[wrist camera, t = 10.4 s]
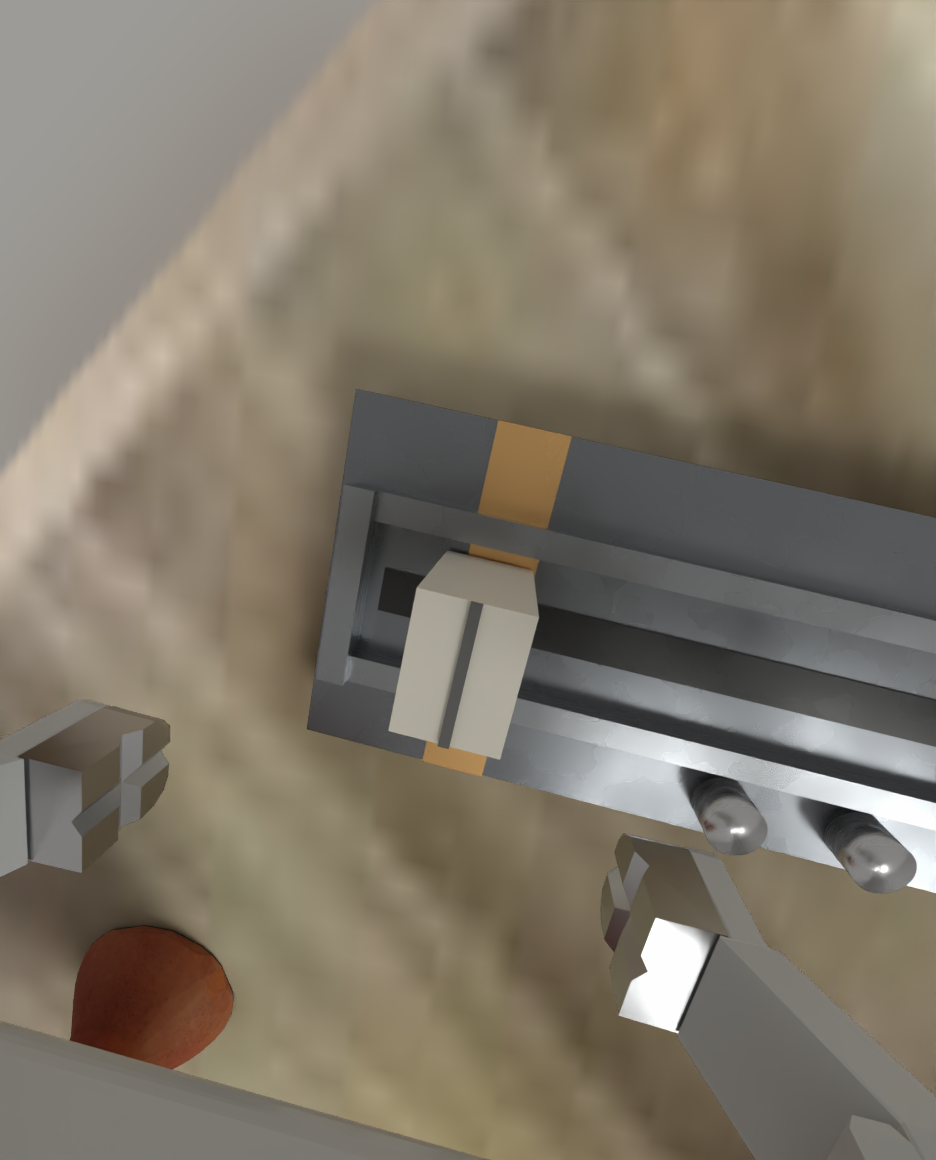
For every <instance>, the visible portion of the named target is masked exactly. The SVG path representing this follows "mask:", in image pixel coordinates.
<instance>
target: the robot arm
mask: <svg viewBox="0 0 936 1160" xmlns="http://www.w3.org/2000/svg"><path fill="white" fill-rule="evenodd" d="M169 742H170V725H169V724H168V723H167V722H166V721H164V720H162V719H159V718H155V717H151V716H148V715H144V714H140V713H137V712H133V711H129V710H125V709H122V708H118V707H114V706H109V705H106V704H102V703H98V702H94V701H90V700H78V701H75V702H73V703H71V704H69V705H67V706H65V707H63V708H61V709H59V710H57V711H55V712H53V713H51V714H50V715H48V716H46V717H44V718H42V719H40V720H38V721H36V722H34V723H32V724H30V725H28V726H26V727H24V728H22V729H21V730H19V731H17V732H15V733H13V734H11V735H9V736H7V737H5V738H3V739H1V740H0V877H1V876H4V875H6V874H8V873H10V872H12V871H14V870H16V869H18V868H20V867H22V866H25V865H27V864H28V861H32V862H36V863H40V864H45V865H49V866H54V867H58V868H62V869H67V870H71V871H75V872H80V873H82V872H83V871H84V870H86V869H87V868H88V867H89V866H90V865H91V864H92V863H93V862H94V861H95V860H96V859H97V858H99V857H100V856H101V855H102V854H103V853H104V852H105V851H106V850H107V849H108V848H109V847H111V846H112V845H113V844H114V843H115V842H116V841H117V840H118V837H119V831H120V827H122V826H124V825H127V824H129V823H132V822H134V821H137V820H139V819H141V818H142V817H143V816H144V815H145V814H146V813H147V812H148V811H149V810H150V809H151V808H152V807H153V806H154V804H155V803H156V801H157V800H158V798H159V796H160V795H161V793H162V792H163V790H164V787H165V784H166V781H167V778H168V770H169V763H168V761H167V760H166V758H165V756H164V754H163V753H162V751H161V750H162V749H163V748H164V747H165V746H166V745H167V744H168V743H169ZM615 856H616V860H617V864H618V867H616V868H615V869H613V870H612V871H610V872H609V873H607V876H606V879H605V883H604V886H603V889H602V898H601V908H600V909H601V925H602V930H603V936H604V939H605V941H606V942H607V943H608V945H609V946H610V947H611V949H612V950H613V952H614V956H613V958H612V961H611V964H610V967H609V969H610V974H611V979H612V984H613V989H614V994H615V999H616V1005H617V1010H618V1015H619V1016H622V1017H626V1018H629V1019H632V1020H636V1021H639V1022H642V1023H646V1024H649V1025H652V1026H656V1027H659V1028H662V1029H666V1030H669V1031H672V1032H676V1033H678V1035H677V1038H678V1039H679V1041H680V1042H681V1044H682V1045H683V1047H684V1049H685V1050H686V1052H687V1053H688V1055H689V1056H690V1058H691V1059H692V1061H693V1063H694V1064H695V1066H696V1067H697V1069H698V1070H699V1072H700V1074H701V1075H702V1077H703V1078H704V1080H705V1081H706V1083H707V1085H708V1086H709V1088H710V1089H711V1091H712V1092H713V1094H714V1096H715V1097H716V1099H717V1100H718V1102H719V1103H720V1105H721V1106H722V1108H723V1110H724V1111H725V1113H726V1114H727V1116H728V1117H729V1119H730V1121H731V1122H732V1124H733V1125H734V1127H735V1128H736V1130H737V1132H738V1133H739V1135H740V1136H741V1138H742V1139H743V1141H744V1143H745V1144H746V1146H747V1147H748V1149H749V1150H750V1152H751V1153H752V1155H753V1157H754V1158H755V1160H936V1097H935V1096H934V1095H933V1094H932V1093H931V1092H930V1091H929V1090H927V1089H926V1088H925V1087H924V1086H923V1085H922V1084H921V1083H920V1082H919V1081H918V1080H917V1079H916V1078H915V1077H914V1076H912V1075H911V1074H910V1073H909V1072H908V1071H907V1070H906V1069H905V1068H904V1067H903V1066H902V1065H901V1064H900V1063H898V1062H897V1061H896V1060H895V1059H894V1058H893V1057H892V1056H891V1055H890V1054H889V1053H888V1052H887V1051H886V1050H885V1049H883V1048H882V1047H881V1046H880V1045H879V1044H878V1043H877V1042H876V1041H875V1040H874V1039H873V1038H872V1037H871V1036H869V1035H868V1034H867V1033H866V1032H865V1031H864V1030H863V1029H862V1028H861V1027H860V1026H859V1025H858V1024H857V1023H856V1022H854V1021H853V1020H852V1019H851V1018H850V1017H849V1016H848V1015H847V1014H846V1013H845V1012H844V1011H843V1010H842V1009H840V1008H839V1007H838V1006H837V1005H836V1004H835V1003H834V1002H833V1001H832V1000H831V999H830V998H829V997H828V996H827V995H825V994H824V993H823V992H822V991H821V990H820V989H819V988H818V987H817V986H816V985H815V984H814V983H813V982H812V981H810V980H809V979H808V978H807V977H806V976H805V975H804V974H803V973H802V972H801V971H800V970H799V969H798V968H796V967H795V966H794V965H793V964H792V963H791V962H790V961H789V960H788V959H787V958H786V957H785V956H784V955H783V954H781V953H780V952H779V951H777V950H774V949H770V948H768V947H767V945H766V943H765V941H764V940H763V938H762V936H761V934H760V932H759V930H758V928H757V926H756V925H755V923H754V921H753V919H752V917H751V915H750V913H749V911H748V910H747V908H746V906H745V904H744V902H743V900H742V898H741V896H740V895H739V893H738V891H737V889H736V887H735V885H734V883H733V881H732V880H731V878H730V876H729V874H728V872H727V870H726V868H725V866H724V864H723V863H722V861H721V859H720V858H719V857H718V856H717V855H715V854H714V853H711V852H706V851H701V850H697V849H692V848H688V847H679V846H675V845H670V844H666V843H662V842H658V841H654V840H650V839H645V838H641V837H637V836H633V835H629V834H625V833H624V834H623V835H622V836H621V838H620V839H619V841H618V844H617V846H616V849H615ZM0 1160H489V1159H485V1158H482V1157H478V1156H474V1155H471V1154H467V1153H464V1152H460V1151H457V1150H453V1149H450V1148H446V1147H443V1146H439V1145H436V1144H432V1143H429V1142H425V1141H422V1140H418V1139H415V1138H411V1137H408V1136H404V1135H400V1134H397V1133H393V1132H390V1131H386V1130H383V1129H379V1128H376V1127H372V1126H369V1125H365V1124H362V1123H358V1122H355V1121H351V1120H348V1119H344V1118H341V1117H337V1116H334V1115H330V1114H326V1113H323V1112H319V1111H316V1110H312V1109H309V1108H305V1107H302V1106H298V1105H295V1104H291V1103H288V1102H284V1101H281V1100H277V1099H274V1098H270V1097H267V1096H263V1095H260V1094H256V1093H253V1092H249V1091H246V1090H242V1089H238V1088H235V1087H231V1086H228V1085H224V1084H221V1083H217V1082H214V1081H210V1080H207V1079H203V1078H200V1077H196V1076H193V1075H189V1074H186V1073H182V1072H179V1071H175V1070H172V1069H168V1068H165V1067H161V1066H158V1065H154V1064H151V1063H147V1062H144V1061H140V1060H137V1059H133V1058H130V1057H126V1056H122V1055H119V1054H115V1053H112V1052H108V1051H105V1050H101V1049H98V1048H94V1047H91V1046H87V1045H84V1044H80V1043H77V1042H73V1041H70V1040H66V1039H63V1038H59V1037H56V1036H52V1035H49V1034H45V1033H42V1032H38V1031H35V1030H31V1029H28V1028H24V1027H21V1026H17V1025H14V1024H10V1023H7V1022H3V1021H0Z"/></svg>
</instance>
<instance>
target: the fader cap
mask: <svg viewBox="0 0 936 1160" xmlns="http://www.w3.org/2000/svg"><path fill="white" fill-rule="evenodd" d="M538 619H539V613H538V605H537V597H536V590H535V582H534V574H533V571H532V570H528V569H524V568H520V567H516V566H511V565H507V564H503V563H499V562H495V561H490V560H486V559H482V558H478V557H473V556H469V555H465V554H461V553H457V552H452V551H448V550H447V552H446V553H445V554H444V555H443V556H442V558H441V559H440V560H439V561H438V562H437V564H436V565H435V566H434V567H433V568H432V570H431V571H430V572H429V573H428V575H427V576H426V577H425V578H424V579H423V581H422V582H421V583H420V584H419V585H418V587H417V588H416V594H415V599H414V604H413V609H412V614H411V619H410V624H409V629H408V634H407V639H406V644H405V649H404V654H403V659H402V664H401V669H400V675H399V680H398V685H397V690H396V695H395V700H394V705H393V710H392V715H391V720H390V725H389V730H388V731H391V732H394V733H398V734H402V735H406V736H410V737H414V738H418V739H422V740H425V741H429V742H433V743H437V744H438V746H437V747H441V748H445V749H449V747H452V748H456V749H460V750H464V751H468V752H472V753H476V754H480V755H483V756H487V757H491V758H495V759H499V760H500V758H501V754H502V751H503V747H504V743H505V740H506V736H507V732H508V729H509V725H510V721H511V718H512V714H513V710H514V707H515V703H516V700H517V696H518V692H519V689H520V685H521V681H522V678H523V674H524V670H525V667H526V663H527V659H528V656H529V652H530V648H531V645H532V641H533V638H534V634H535V630H536V627H537V623H538Z"/></svg>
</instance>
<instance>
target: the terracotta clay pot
mask: <svg viewBox="0 0 936 1160" xmlns="http://www.w3.org/2000/svg"><path fill="white" fill-rule="evenodd" d="M233 1002H234V996H233V993H232V991H231V988H230V986H229V983H228V981H227V978H226V976H225V973H224V971H223V969H222V966H221V965H220V964H219V963H218V962H217V961H216V960H215V958H214V957H213V956H212V955H211V954H209V953H208V952H207V951H206V950H205V949H204V948H203V947H201V946H200V945H198V944H196V943H194V942H192V941H190V940H188V939H187V938H185V937H183V936H181V935H179V934H177V933H175V932H173V931H169V930H164V929H159V928H153V927H148V926H139V927H132V928H126V929H117V930H111V931H110V932H108V933H106V934H104V935H103V936H101V937H100V938H99V939H98V940H96V941H95V942H94V943H93V944H92V945H91V947H90V948H89V949H88V951H87V952H86V954H85V956H84V959H83V961H82V964H81V966H80V969H79V972H78V975H77V980H76V984H75V992H74V1000H73V1014H72V1029H71V1038H70V1041H73V1042H77V1043H80V1044H84V1045H87V1046H91V1047H94V1048H98V1049H101V1050H105V1051H108V1052H112V1053H115V1054H119V1055H122V1056H126V1057H130V1058H133V1059H137V1060H140V1061H144V1062H147V1063H151V1064H154V1065H158V1066H161V1067H165V1068H168V1069H174V1068H176V1067H178V1066H180V1065H181V1064H183V1063H185V1062H186V1061H188V1060H190V1059H191V1058H193V1057H194V1056H195V1055H197V1054H198V1053H199V1052H201V1051H202V1050H203V1049H204V1048H205V1047H207V1046H208V1045H209V1044H210V1043H211V1042H212V1041H214V1040H215V1038H216V1037H217V1036H218V1035H219V1034H220V1033H221V1032H222V1031H223V1029H224V1028H225V1026H226V1024H227V1022H228V1020H229V1018H230V1016H231V1014H232V1009H233Z"/></svg>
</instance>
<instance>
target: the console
mask: <svg viewBox="0 0 936 1160" xmlns="http://www.w3.org/2000/svg"><path fill="white" fill-rule="evenodd" d="M447 550H448V551H452V552H457V553H461V554H465V555H469V556H473V557H478V558H482V559H486V560H490V561H495V562H499V563H503V564H507V565H511V566H516V567H520V568H524V569H528V570H532V571H533V574H534V582H535V590H536V597H537V605H538V613H539V619H538V623H537V627H536V630H535V634H534V638H533V641H532V645H531V648H530V652H529V656H528V659H527V663H526V667H525V670H524V674H523V678H522V681H521V685H520V689H519V692H518V696H517V700H516V703H515V707H514V710H513V714H512V718H511V721H510V725H509V729H508V732H507V736H506V740H505V743H504V747H503V751H502V754H501V758H500V760H499V759H495V758H491V757H487V756H483V755H480V754H476V753H472V752H468V751H464V750H460V749H456V748H452V747H449V749H445V748H441V747H437V746H438V744H437V743H433V742H429V741H425V740H422V739H418V738H414V737H410V736H406V735H402V734H398V733H394V732H391V731H388V730H389V725H390V720H391V715H392V710H393V705H394V700H395V695H396V690H397V685H398V680H399V675H400V669H401V664H402V659H403V654H404V649H405V644H406V639H407V634H408V629H409V624H410V619H411V614H412V609H413V604H414V599H415V594H416V588H417V587H418V585H419V584H420V583H421V582H422V581H423V579H424V578H425V577H426V576H427V575H428V573H429V572H430V571H431V570H432V568H433V567H434V566H435V565H436V564H437V562H438V561H439V560H440V559H441V558H442V556H443V555H444V554H445V553H446V552H447ZM307 729H308V730H312V731H316V732H319V733H323V734H327V735H331V736H335V737H339V738H342V739H346V740H350V741H354V742H358V743H362V744H365V745H369V746H373V747H377V748H381V749H385V750H388V751H392V752H396V753H400V754H404V755H408V756H411V757H415V758H419V759H423V760H422V761H423V762H427V763H431V764H434V765H438V766H442V767H446V768H450V769H454V770H457V771H461V772H465V773H469V774H473V775H477V776H480V777H482V775H484V776H488V777H492V778H496V779H500V780H504V781H507V782H511V783H515V784H519V785H523V786H527V787H530V788H534V789H538V790H542V791H546V792H550V793H554V794H557V795H561V796H565V797H569V798H573V799H577V800H580V801H584V802H588V803H592V804H596V805H600V806H603V807H607V808H611V809H615V810H619V811H623V812H626V813H630V814H634V815H638V816H642V817H646V818H649V819H653V820H657V821H661V822H665V823H669V824H673V825H676V826H680V827H684V828H688V829H692V830H696V831H699V832H703V833H705V835H706V837H707V839H708V841H709V843H710V844H711V845H712V846H713V847H714V848H715V849H716V850H718V851H720V852H722V853H724V854H728V855H744V854H747V853H750V852H753V851H754V850H756V849H757V848H759V847H761V848H765V849H768V850H772V851H776V852H780V853H784V854H788V855H792V856H795V857H799V858H803V859H807V860H811V861H815V862H818V863H822V864H826V865H830V866H834V867H838V868H841V869H845V870H846V871H847V872H848V874H849V875H850V876H851V877H852V879H853V880H854V881H855V882H856V883H857V885H858V886H860V887H861V888H863V889H864V890H867V891H869V892H873V893H890V892H894V891H897V890H899V889H901V888H903V887H905V886H906V885H907V886H911V887H914V888H918V889H922V890H926V891H930V892H934V893H936V518H935V517H930V516H926V515H921V514H917V513H912V512H908V511H903V510H899V509H894V508H890V507H885V506H881V505H876V504H872V503H867V502H863V501H858V500H854V499H849V498H845V497H840V496H836V495H831V494H827V493H822V492H818V491H813V490H809V489H804V488H800V487H795V486H791V485H786V484H782V483H777V482H773V481H768V480H764V479H759V478H755V477H750V476H746V475H741V474H737V473H732V472H728V471H724V470H719V469H715V468H710V467H706V466H701V465H697V464H692V463H688V462H683V461H679V460H674V459H670V458H665V457H661V456H656V455H652V454H647V453H643V452H638V451H634V450H629V449H625V448H620V447H616V446H611V445H607V444H602V443H598V442H593V441H589V440H584V439H580V438H575V437H572V436H568V435H563V434H559V433H554V432H550V431H545V430H541V429H536V428H532V427H527V426H523V425H518V424H514V423H509V422H505V421H500V420H494V419H490V418H485V417H481V416H476V415H472V414H467V413H463V412H458V411H454V410H449V409H445V408H440V407H436V406H431V405H427V404H423V403H418V402H414V401H409V400H405V399H400V398H396V397H391V396H387V395H382V394H378V393H373V392H369V391H364V390H360V389H356V393H355V400H354V407H353V414H352V421H351V428H350V435H349V442H348V449H347V456H346V462H345V469H344V476H343V483H342V490H341V497H340V504H339V511H338V518H337V524H336V531H335V538H334V545H333V552H332V559H331V566H330V573H329V580H328V586H327V593H326V600H325V607H324V614H323V621H322V628H321V635H320V642H319V648H318V655H317V662H316V669H315V676H314V683H313V690H312V697H311V704H310V710H309V717H308V724H307Z"/></svg>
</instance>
